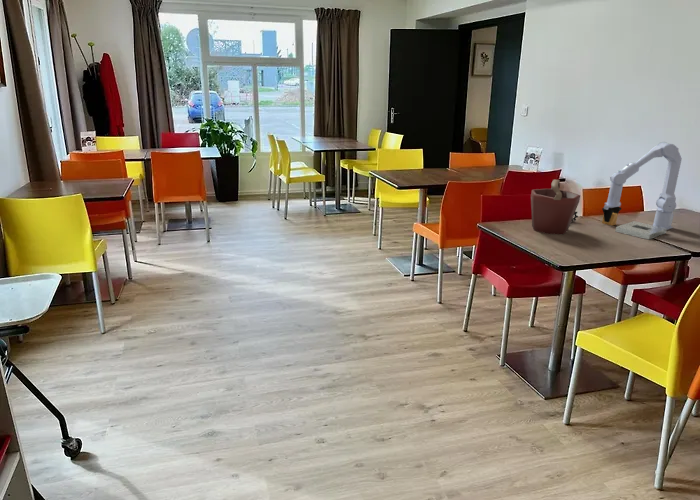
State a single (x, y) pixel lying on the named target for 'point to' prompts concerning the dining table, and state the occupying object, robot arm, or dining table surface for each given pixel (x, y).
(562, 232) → the bucket
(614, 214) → the orange rectangular block
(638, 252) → the dining table surface
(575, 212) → the valve
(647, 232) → the grey plate with hole
